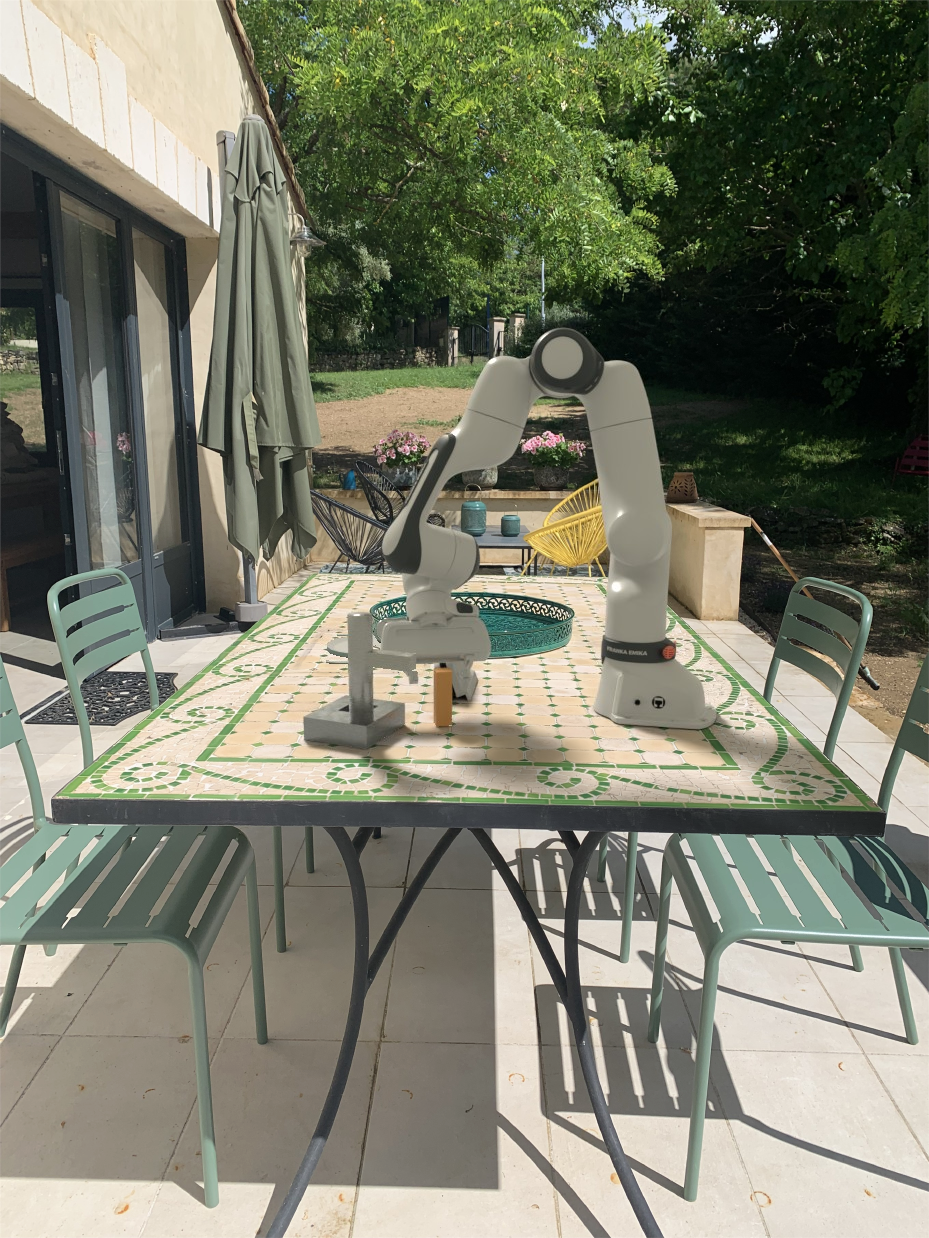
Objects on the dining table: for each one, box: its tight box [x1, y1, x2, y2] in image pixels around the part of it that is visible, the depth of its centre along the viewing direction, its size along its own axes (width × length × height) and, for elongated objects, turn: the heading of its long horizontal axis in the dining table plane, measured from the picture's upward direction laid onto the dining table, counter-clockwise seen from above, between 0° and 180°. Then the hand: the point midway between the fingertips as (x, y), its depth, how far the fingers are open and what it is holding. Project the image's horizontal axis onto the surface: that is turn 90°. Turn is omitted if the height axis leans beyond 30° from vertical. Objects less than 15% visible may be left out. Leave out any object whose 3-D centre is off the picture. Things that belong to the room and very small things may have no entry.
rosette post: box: [302, 611, 416, 750], centre depth 152 cm, size 20×14×22 cm
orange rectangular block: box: [433, 667, 453, 728], centre depth 159 cm, size 3×3×10 cm
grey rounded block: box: [433, 662, 478, 702], centre depth 182 cm, size 17×5×10 cm, turn 174°
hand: (440, 681), depth 161 cm, fingers open, 8 cm apart
